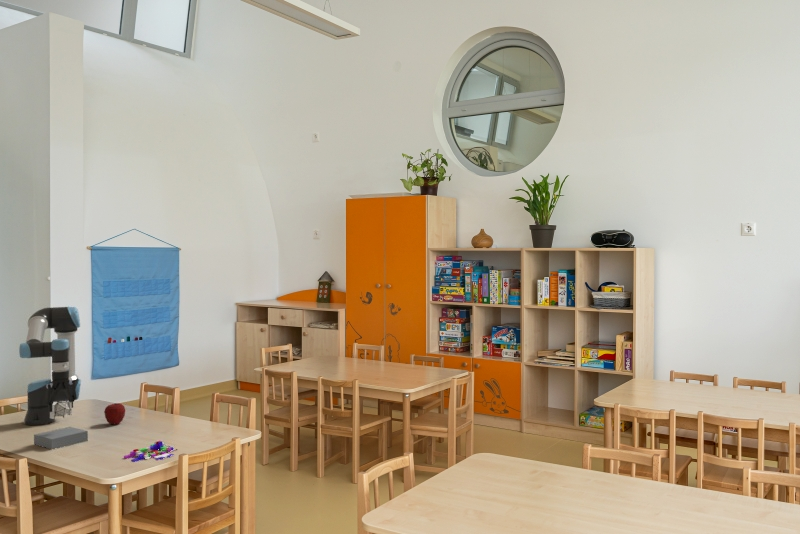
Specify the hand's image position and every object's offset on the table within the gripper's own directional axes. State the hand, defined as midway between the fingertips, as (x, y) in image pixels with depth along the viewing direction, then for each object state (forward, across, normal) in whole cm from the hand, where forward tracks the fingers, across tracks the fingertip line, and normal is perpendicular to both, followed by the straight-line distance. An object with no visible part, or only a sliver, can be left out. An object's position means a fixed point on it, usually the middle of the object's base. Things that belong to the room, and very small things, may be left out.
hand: (60, 416), depth 322 cm
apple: (+13, +37, +12) cm, 41 cm away
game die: (0, 0, 0) cm, 0 cm away
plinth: (+13, 0, 0) cm, 13 cm away
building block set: (+14, +13, -56) cm, 59 cm away
